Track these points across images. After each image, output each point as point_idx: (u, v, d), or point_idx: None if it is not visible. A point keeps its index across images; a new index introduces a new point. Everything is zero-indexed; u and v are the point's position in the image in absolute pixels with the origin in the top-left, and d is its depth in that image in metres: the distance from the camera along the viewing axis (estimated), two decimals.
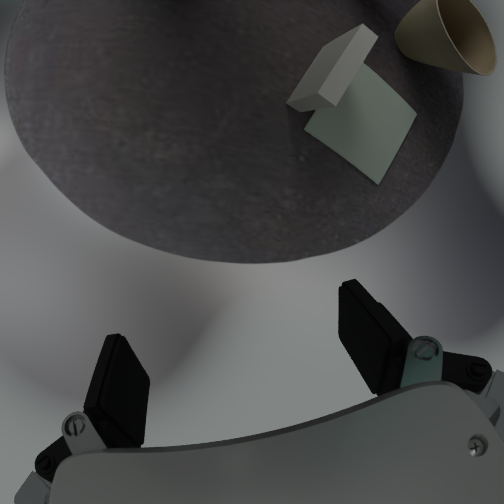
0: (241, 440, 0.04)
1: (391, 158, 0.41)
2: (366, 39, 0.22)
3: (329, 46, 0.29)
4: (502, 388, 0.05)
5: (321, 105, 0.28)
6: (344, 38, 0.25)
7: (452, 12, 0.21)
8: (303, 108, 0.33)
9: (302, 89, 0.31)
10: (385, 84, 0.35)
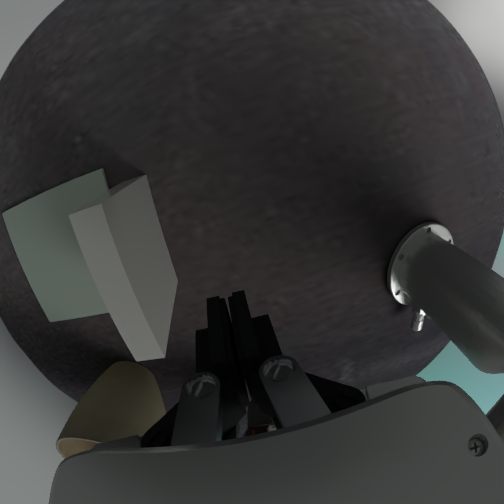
0: (241, 440, 0.04)
1: (17, 251, 0.25)
2: (139, 343, 0.18)
3: (169, 286, 0.26)
4: None
5: (92, 201, 0.17)
6: (162, 315, 0.21)
7: None
8: (119, 185, 0.22)
9: (139, 202, 0.22)
10: (94, 312, 0.30)
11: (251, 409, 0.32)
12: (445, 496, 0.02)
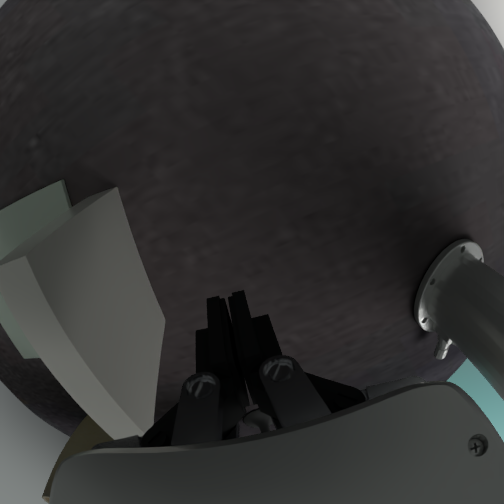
0: (241, 440, 0.04)
1: None
2: (116, 427, 0.11)
3: (153, 336, 0.19)
4: None
5: (29, 239, 0.10)
6: (144, 384, 0.14)
7: None
8: (79, 204, 0.15)
9: (103, 230, 0.15)
10: None
11: None
12: (445, 496, 0.02)
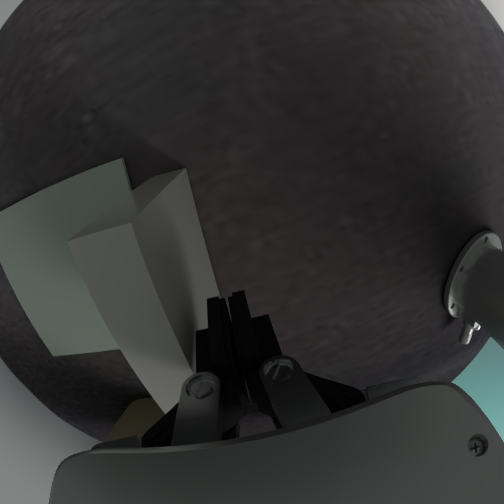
0: (241, 440, 0.04)
1: (6, 271, 0.18)
2: None
3: None
4: None
5: (110, 210, 0.10)
6: None
7: None
8: (150, 182, 0.15)
9: (182, 210, 0.15)
10: (110, 346, 0.23)
11: None
12: (445, 496, 0.02)
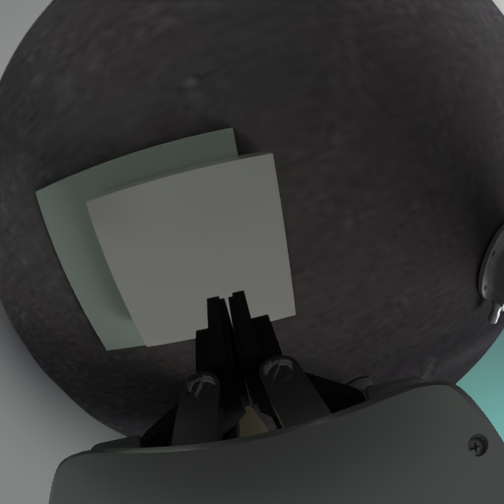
0: (241, 440, 0.04)
1: (59, 251, 0.18)
2: None
3: None
4: None
5: (132, 183, 0.17)
6: (177, 323, 0.20)
7: None
8: (219, 160, 0.17)
9: (202, 198, 0.16)
10: None
11: None
12: (445, 496, 0.02)
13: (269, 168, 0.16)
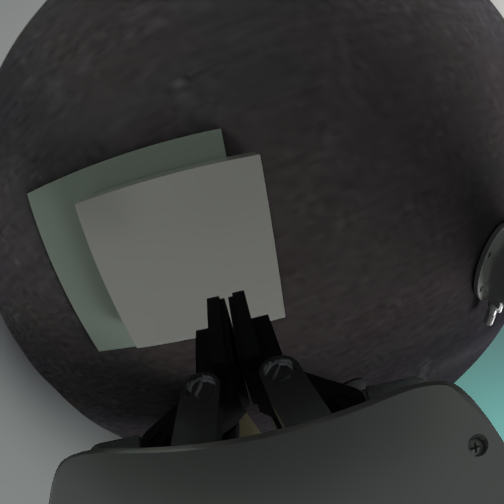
0: (241, 440, 0.04)
1: (51, 253, 0.18)
2: None
3: (230, 314, 0.20)
4: None
5: (120, 185, 0.17)
6: (166, 325, 0.19)
7: None
8: (207, 162, 0.17)
9: (189, 200, 0.16)
10: None
11: None
12: (445, 496, 0.02)
13: (256, 169, 0.16)
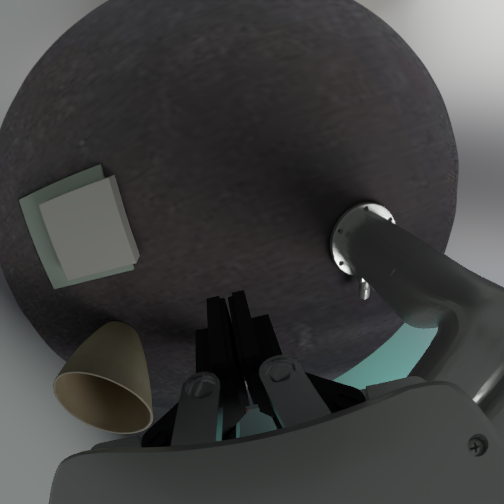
0: (241, 440, 0.04)
1: (30, 230, 0.33)
2: None
3: (107, 259, 0.34)
4: None
5: (59, 195, 0.31)
6: (79, 265, 0.34)
7: (130, 404, 0.37)
8: (93, 182, 0.31)
9: (82, 201, 0.30)
10: (90, 277, 0.38)
11: None
12: (445, 496, 0.02)
13: (108, 185, 0.30)
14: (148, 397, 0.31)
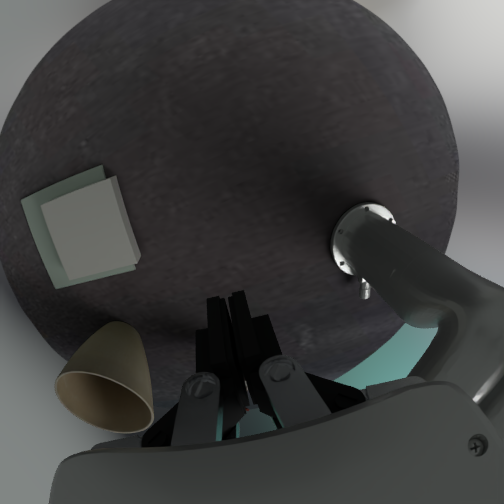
0: (241, 440, 0.04)
1: (32, 230, 0.33)
2: None
3: (109, 259, 0.34)
4: None
5: None
6: (81, 265, 0.34)
7: (131, 403, 0.37)
8: None
9: (84, 201, 0.31)
10: (92, 277, 0.38)
11: None
12: (445, 496, 0.02)
13: (109, 185, 0.31)
14: (149, 396, 0.32)
